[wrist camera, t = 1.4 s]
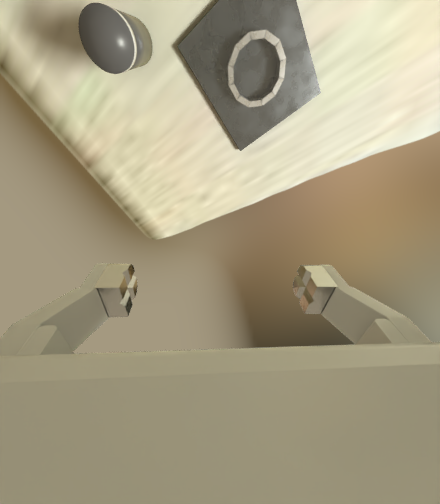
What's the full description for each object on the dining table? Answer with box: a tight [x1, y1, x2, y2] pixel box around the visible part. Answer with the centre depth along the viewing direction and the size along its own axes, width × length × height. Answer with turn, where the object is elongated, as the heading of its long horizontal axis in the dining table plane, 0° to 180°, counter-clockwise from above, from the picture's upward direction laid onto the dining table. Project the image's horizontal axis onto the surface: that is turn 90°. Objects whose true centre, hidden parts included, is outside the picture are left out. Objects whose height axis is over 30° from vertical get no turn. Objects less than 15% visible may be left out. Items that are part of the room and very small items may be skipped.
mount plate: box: [177, 0, 321, 151], centre depth 32 cm, size 18×16×3 cm
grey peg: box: [79, 3, 152, 74], centre depth 26 cm, size 5×5×12 cm
